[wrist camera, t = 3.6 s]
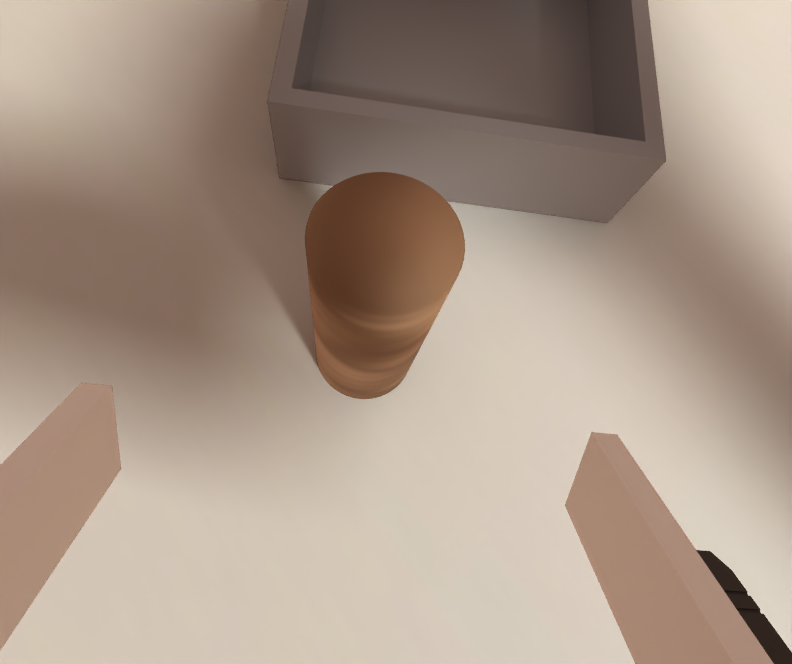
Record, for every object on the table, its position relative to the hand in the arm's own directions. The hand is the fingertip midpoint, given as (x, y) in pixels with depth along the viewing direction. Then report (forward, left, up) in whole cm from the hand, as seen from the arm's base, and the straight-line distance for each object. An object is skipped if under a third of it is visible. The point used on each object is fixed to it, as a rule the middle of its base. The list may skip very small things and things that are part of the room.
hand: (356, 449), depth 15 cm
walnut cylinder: (0, -6, -11) cm, 13 cm away
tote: (-4, -26, -11) cm, 29 cm away
